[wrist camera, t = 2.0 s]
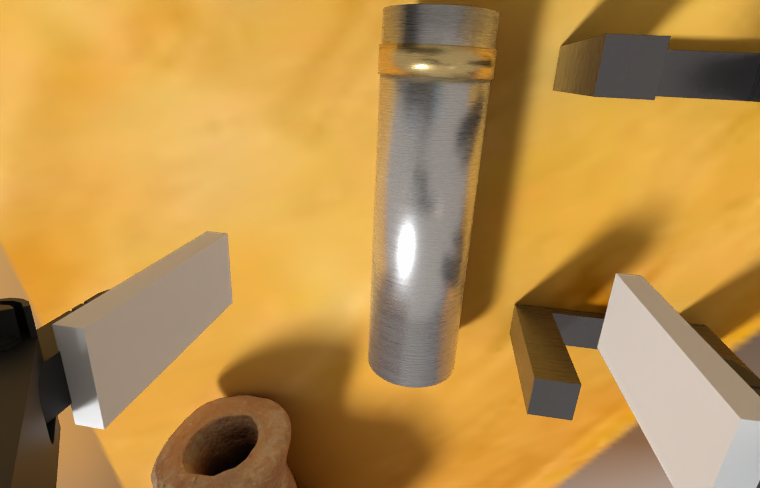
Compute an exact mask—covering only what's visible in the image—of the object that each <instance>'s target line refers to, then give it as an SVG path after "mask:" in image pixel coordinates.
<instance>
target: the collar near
mask: <svg viewBox="0 0 760 488" xmlns="http://www.w3.org/2000/svg"><path fill="white" fill-rule="evenodd" d="M670 37H671V36H654V35H627V34H604V35H600V36H597V37H593V38H589V39H586V40H582V41H578V42H574V43H571V44H567V45H563V46H561V47H560V52H559V58H558V64H557V69H556V75H555V81H554V86H553V90H554V91H560V92H567V93H573V94H580V95H586V96H593V97H610V98H628V99H646V100H654V99H655V96H664V97H682V98H701V99H720V100H739V101H753V102H760V54H759V53H735V52H710V51H686V50H667V49H668V45H669V41H670Z"/></svg>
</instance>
